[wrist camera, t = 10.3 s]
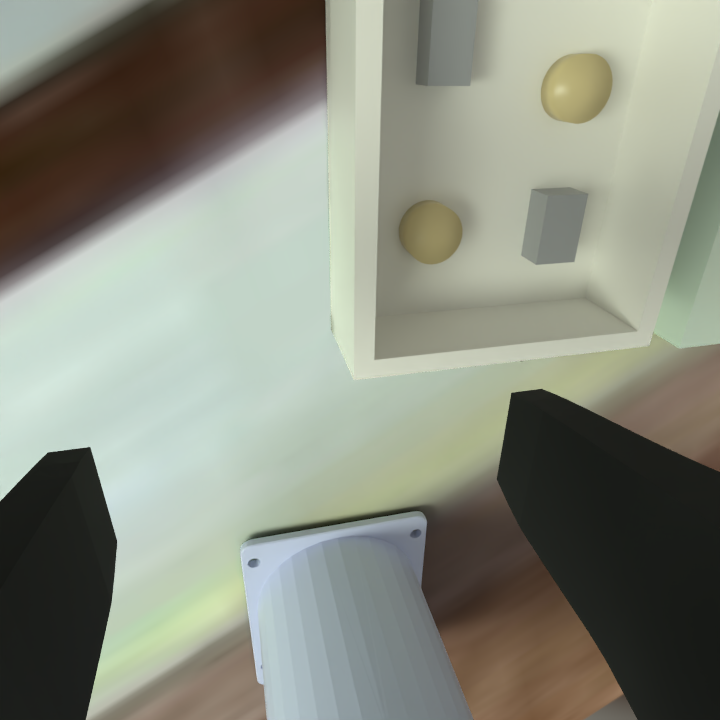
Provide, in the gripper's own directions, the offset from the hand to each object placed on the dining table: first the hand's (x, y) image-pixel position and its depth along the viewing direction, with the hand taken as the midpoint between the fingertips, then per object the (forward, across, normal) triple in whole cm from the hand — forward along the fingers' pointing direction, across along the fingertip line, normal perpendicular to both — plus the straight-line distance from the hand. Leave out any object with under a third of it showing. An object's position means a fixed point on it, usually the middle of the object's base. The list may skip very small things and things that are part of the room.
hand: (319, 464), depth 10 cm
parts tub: (+9, -7, -4) cm, 12 cm away
